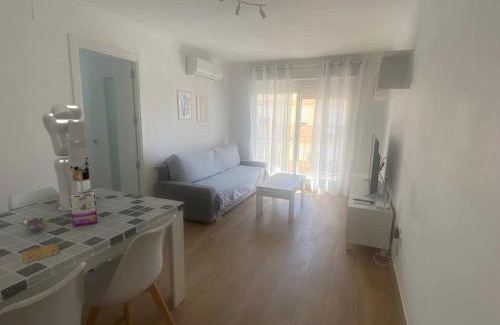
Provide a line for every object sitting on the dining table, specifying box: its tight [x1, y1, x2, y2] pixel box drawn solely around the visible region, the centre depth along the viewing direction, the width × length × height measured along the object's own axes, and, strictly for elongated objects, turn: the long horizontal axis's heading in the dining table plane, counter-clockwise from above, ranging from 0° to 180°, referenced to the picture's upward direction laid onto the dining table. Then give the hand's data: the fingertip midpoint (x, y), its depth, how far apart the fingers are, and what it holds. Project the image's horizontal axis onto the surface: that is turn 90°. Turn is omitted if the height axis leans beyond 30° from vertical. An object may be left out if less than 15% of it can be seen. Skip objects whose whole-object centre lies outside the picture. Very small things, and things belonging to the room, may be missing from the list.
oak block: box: [71, 168, 91, 183], centre depth 133 cm, size 6×6×6 cm
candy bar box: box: [70, 191, 99, 227], centre depth 136 cm, size 11×5×16 cm, turn 117°
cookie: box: [20, 242, 61, 265], centre depth 107 cm, size 12×12×1 cm
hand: (81, 178), depth 133 cm, fingers closed on oak block, 5 cm apart
